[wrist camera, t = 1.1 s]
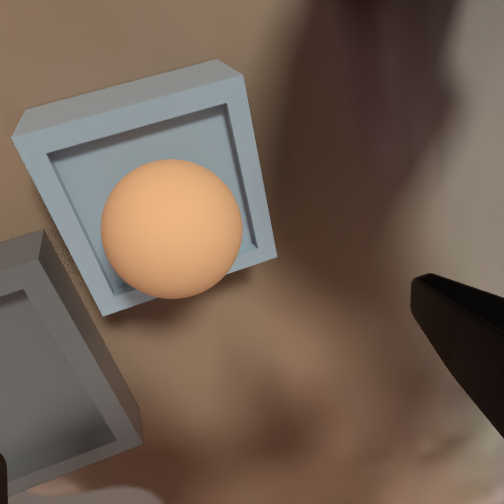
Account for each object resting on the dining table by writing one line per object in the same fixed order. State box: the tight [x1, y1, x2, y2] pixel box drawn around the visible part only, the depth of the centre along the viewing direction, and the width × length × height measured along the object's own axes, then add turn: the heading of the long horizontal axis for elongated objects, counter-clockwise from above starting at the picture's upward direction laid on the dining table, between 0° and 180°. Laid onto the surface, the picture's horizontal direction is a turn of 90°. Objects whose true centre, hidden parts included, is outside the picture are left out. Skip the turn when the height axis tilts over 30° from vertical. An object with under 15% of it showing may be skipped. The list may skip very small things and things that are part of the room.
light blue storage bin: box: [11, 59, 277, 316], centre depth 17 cm, size 7×7×4 cm
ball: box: [101, 159, 242, 299], centre depth 14 cm, size 4×4×4 cm
